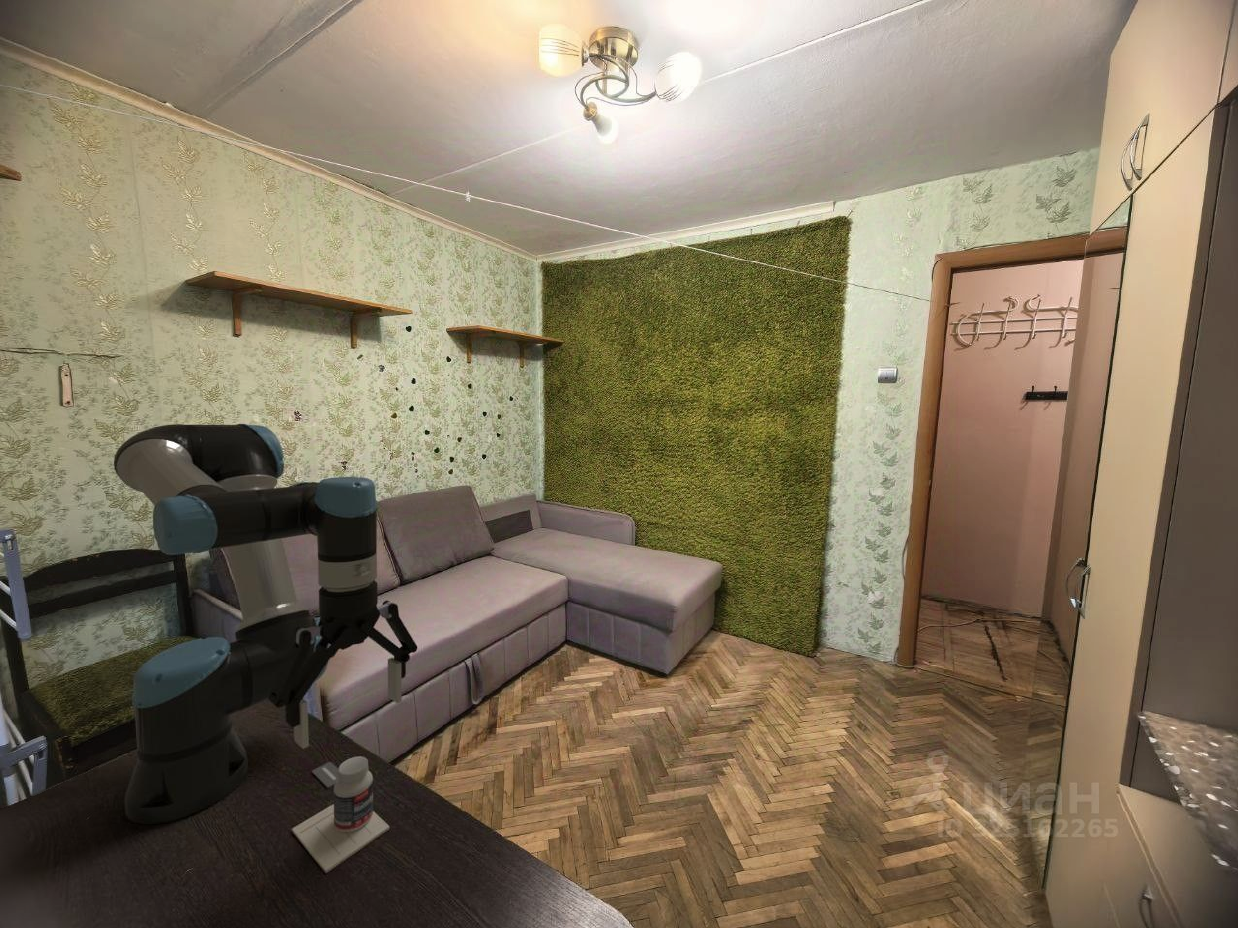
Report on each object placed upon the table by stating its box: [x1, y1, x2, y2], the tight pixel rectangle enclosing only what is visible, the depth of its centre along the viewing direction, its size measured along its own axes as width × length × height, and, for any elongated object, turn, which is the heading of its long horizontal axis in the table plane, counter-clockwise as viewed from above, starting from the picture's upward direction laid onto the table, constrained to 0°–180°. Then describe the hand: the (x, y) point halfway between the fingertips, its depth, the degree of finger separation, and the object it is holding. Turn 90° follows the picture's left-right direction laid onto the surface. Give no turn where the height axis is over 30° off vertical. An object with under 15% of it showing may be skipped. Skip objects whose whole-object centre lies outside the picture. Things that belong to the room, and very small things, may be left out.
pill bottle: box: [333, 755, 374, 832], centre depth 74 cm, size 5×5×9 cm
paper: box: [291, 803, 390, 874], centre depth 73 cm, size 11×9×1 cm
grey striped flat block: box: [311, 761, 339, 789], centre depth 84 cm, size 6×3×1 cm, turn 54°
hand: (351, 719), depth 73 cm, fingers open, 13 cm apart
